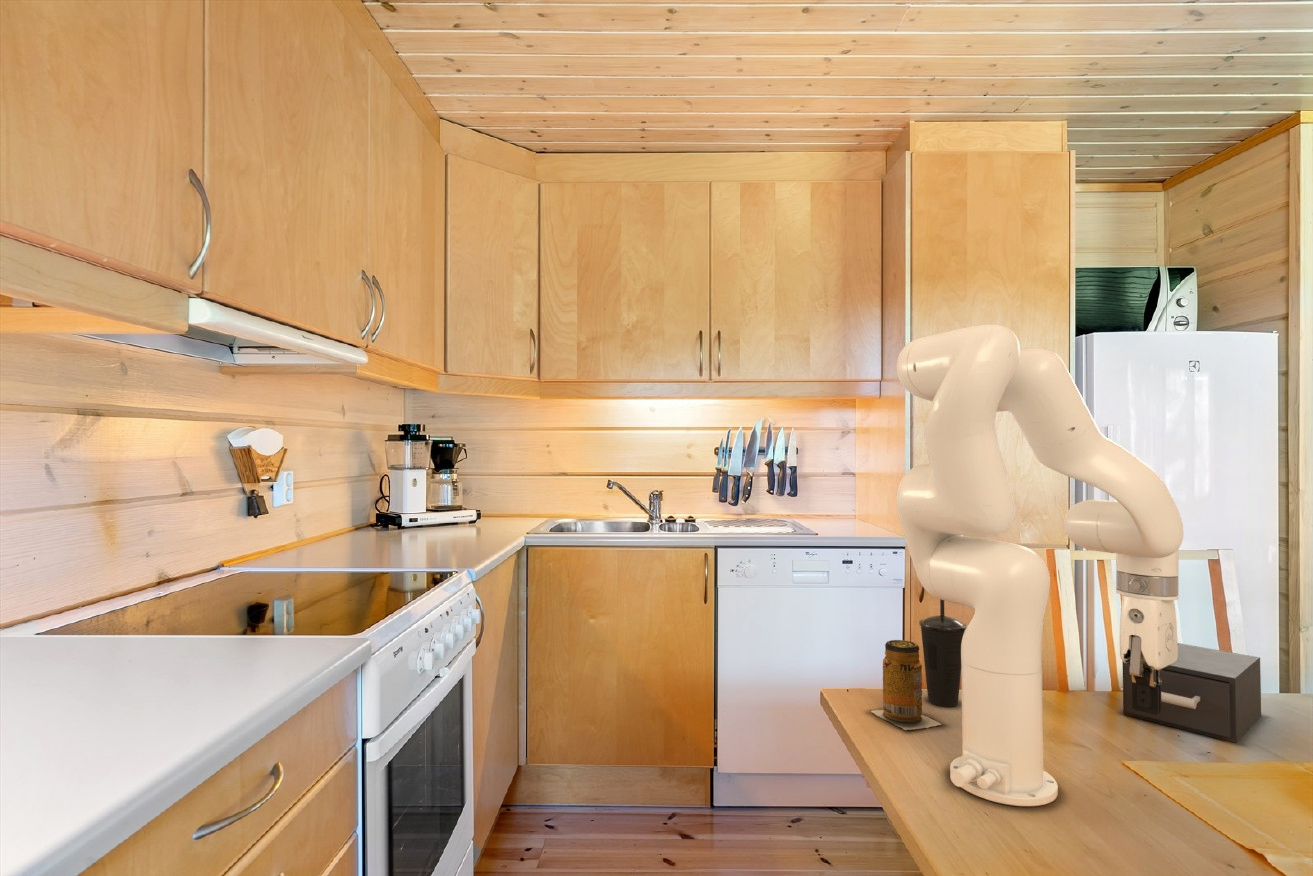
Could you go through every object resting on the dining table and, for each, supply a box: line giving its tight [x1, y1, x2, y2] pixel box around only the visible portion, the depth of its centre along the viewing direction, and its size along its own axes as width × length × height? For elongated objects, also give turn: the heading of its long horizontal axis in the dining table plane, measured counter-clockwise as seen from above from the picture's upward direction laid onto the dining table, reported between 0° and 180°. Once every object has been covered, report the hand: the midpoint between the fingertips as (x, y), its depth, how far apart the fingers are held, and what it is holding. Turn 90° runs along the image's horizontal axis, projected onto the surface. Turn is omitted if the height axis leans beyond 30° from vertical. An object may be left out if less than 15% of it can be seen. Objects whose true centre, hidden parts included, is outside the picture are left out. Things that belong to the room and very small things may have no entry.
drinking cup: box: [918, 599, 968, 708], centre depth 119 cm, size 8×8×20 cm
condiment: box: [870, 639, 943, 731], centre depth 112 cm, size 7×8×12 cm
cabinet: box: [1121, 642, 1262, 744], centre depth 113 cm, size 17×15×10 cm
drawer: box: [1124, 663, 1231, 738], centre depth 111 cm, size 20×13×8 cm
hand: (1146, 710), depth 101 cm, fingers closed
